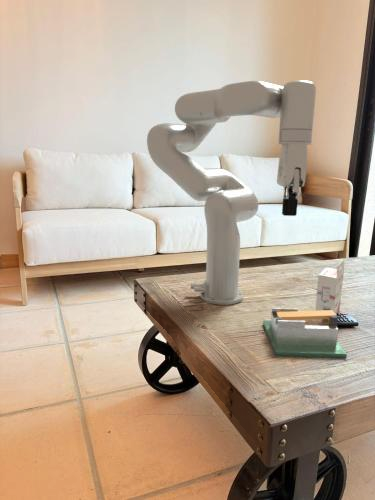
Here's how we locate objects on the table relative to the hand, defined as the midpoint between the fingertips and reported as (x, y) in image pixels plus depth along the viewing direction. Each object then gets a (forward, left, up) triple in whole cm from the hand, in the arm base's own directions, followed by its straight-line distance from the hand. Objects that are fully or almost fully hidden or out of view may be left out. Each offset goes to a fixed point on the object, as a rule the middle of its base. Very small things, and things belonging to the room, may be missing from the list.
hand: (289, 215), depth 97 cm
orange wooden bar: (+3, -13, -21) cm, 25 cm away
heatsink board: (+2, -13, -27) cm, 30 cm away
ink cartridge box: (+13, +3, -27) cm, 30 cm away
